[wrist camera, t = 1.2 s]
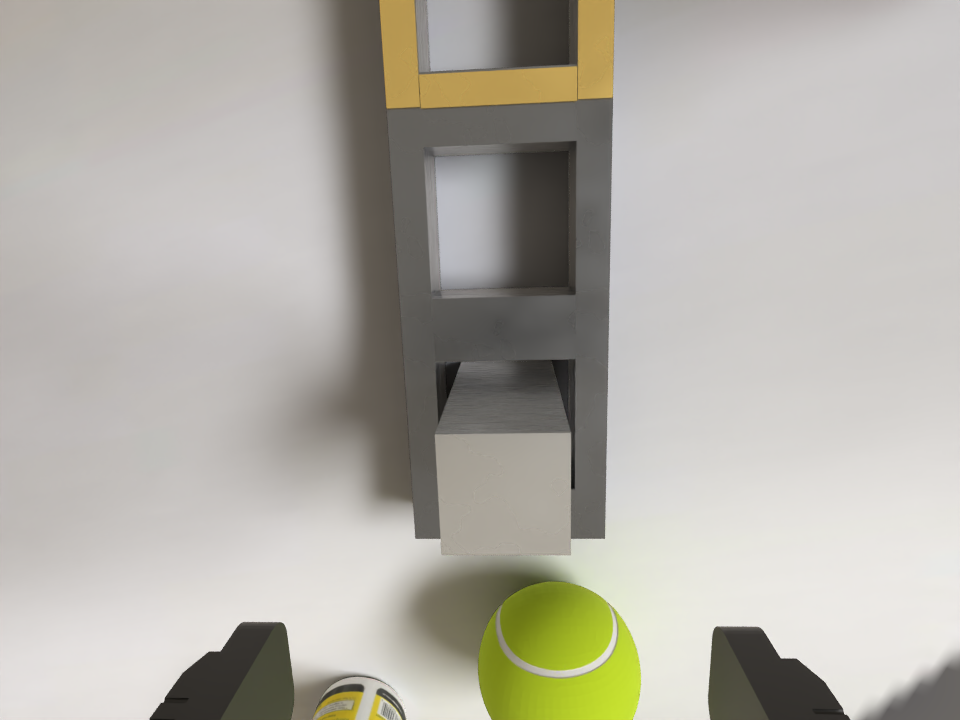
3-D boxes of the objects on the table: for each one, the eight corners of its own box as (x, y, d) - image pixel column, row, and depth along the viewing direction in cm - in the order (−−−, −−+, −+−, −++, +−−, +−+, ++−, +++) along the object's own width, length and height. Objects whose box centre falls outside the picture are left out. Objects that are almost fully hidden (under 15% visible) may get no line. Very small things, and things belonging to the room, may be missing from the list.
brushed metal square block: (551, 360, 25) (571, 432, 17) (551, 444, 26) (570, 555, 18) (461, 361, 26) (434, 434, 17) (465, 445, 27) (441, 555, 18)
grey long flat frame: (603, -149, 21) (619, -212, 18) (594, 504, 27) (605, 540, 24) (386, -133, 21) (365, -191, 18) (425, 504, 27) (415, 539, 24)
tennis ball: (477, 553, 28) (465, 660, 21) (622, 548, 27) (658, 656, 21) (487, 674, 30) (479, 809, 23) (624, 672, 29) (658, 809, 22)
